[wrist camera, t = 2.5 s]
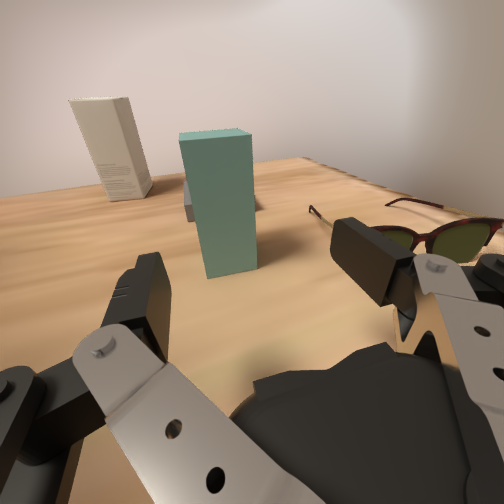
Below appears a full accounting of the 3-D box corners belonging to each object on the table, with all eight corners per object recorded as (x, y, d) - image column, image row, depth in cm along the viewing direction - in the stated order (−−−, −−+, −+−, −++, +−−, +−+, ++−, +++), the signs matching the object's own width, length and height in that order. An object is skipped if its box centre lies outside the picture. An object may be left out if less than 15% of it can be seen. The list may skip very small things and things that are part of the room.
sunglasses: (339, 278, 21) (347, 230, 19) (298, 221, 34) (300, 188, 32) (484, 265, 22) (510, 216, 20) (390, 213, 35) (399, 180, 33)
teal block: (207, 279, 22) (178, 140, 15) (203, 251, 26) (179, 133, 19) (257, 268, 23) (251, 134, 16) (246, 244, 27) (237, 128, 20)
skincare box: (123, 188, 48) (90, 98, 39) (155, 185, 48) (130, 96, 40) (108, 202, 41) (63, 97, 32) (146, 199, 41) (112, 95, 33)
